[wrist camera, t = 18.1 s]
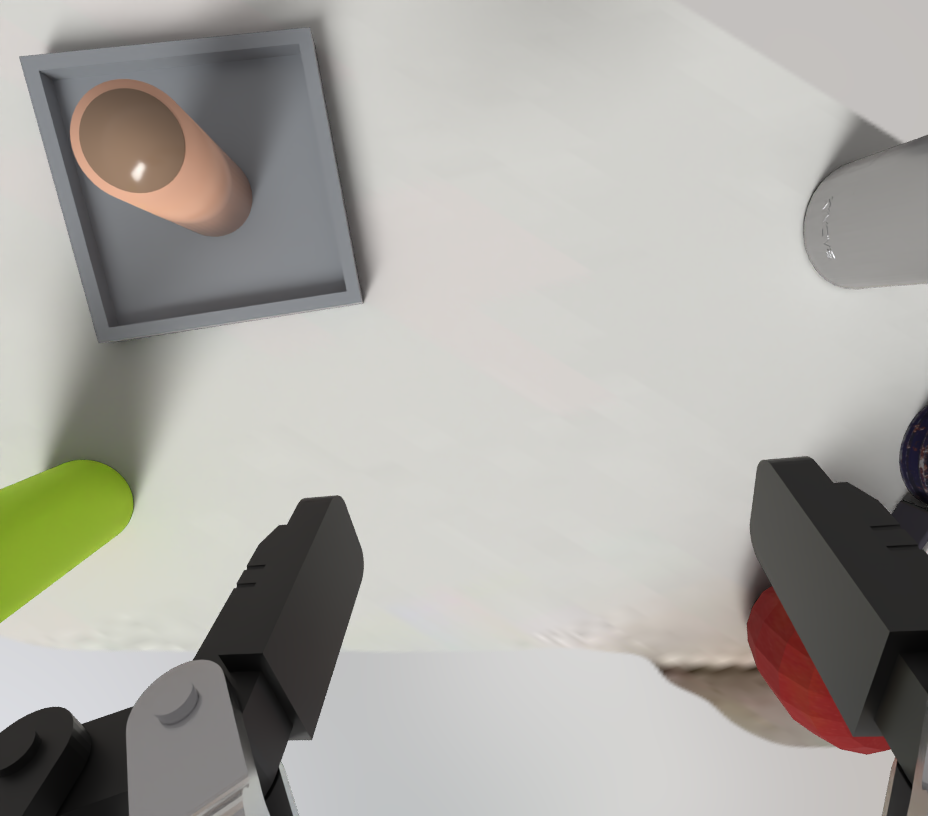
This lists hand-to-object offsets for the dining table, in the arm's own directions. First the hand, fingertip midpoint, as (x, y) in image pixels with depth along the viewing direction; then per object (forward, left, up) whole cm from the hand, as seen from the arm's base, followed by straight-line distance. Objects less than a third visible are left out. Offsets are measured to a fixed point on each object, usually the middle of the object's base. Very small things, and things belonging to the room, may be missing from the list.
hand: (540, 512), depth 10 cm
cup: (+12, -14, -26) cm, 32 cm away
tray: (+12, -14, -27) cm, 33 cm away
